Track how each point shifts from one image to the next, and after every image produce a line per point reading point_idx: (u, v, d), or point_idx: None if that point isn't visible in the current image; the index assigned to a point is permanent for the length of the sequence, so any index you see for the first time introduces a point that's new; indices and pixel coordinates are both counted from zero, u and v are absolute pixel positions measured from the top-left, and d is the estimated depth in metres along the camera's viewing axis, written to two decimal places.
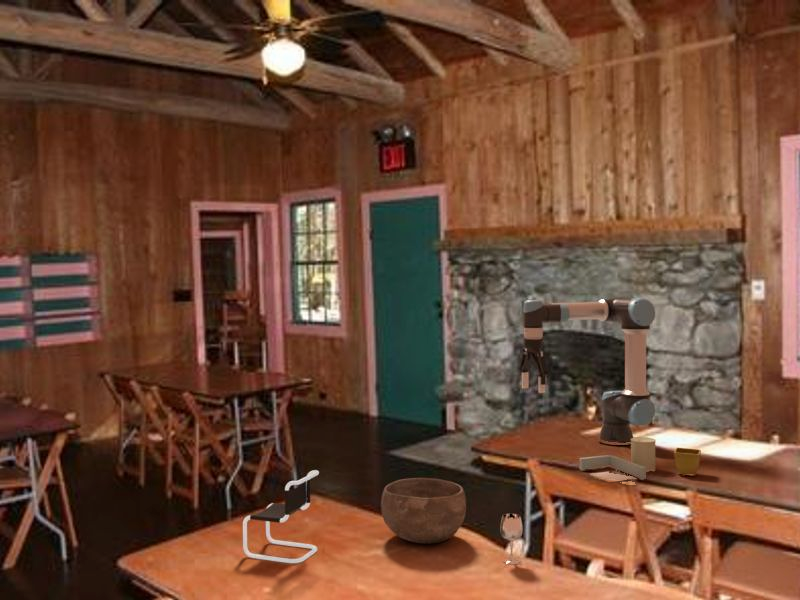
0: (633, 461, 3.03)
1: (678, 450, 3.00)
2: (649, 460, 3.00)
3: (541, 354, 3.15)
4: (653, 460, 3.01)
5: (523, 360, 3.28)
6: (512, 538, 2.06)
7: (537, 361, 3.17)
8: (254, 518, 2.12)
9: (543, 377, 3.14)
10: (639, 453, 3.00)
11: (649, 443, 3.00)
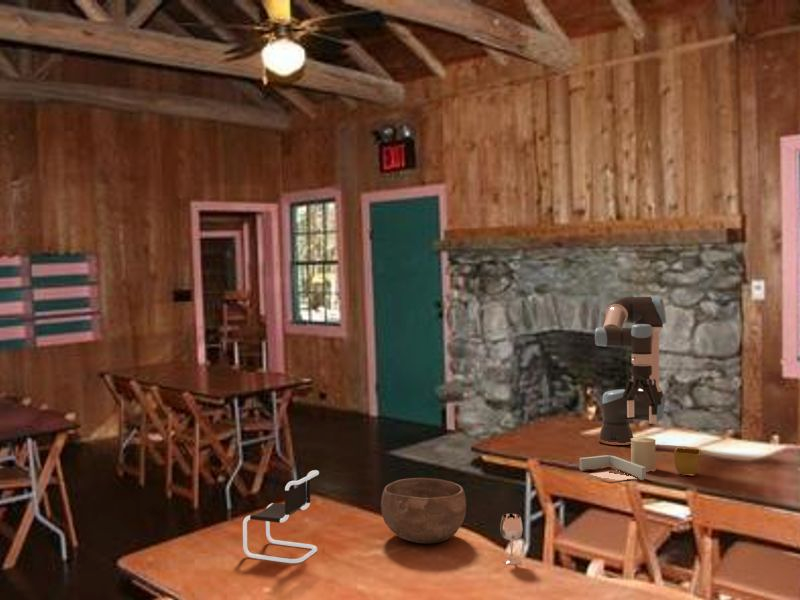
0: (633, 461, 3.03)
1: (678, 450, 3.00)
2: (649, 460, 3.00)
3: (652, 382, 2.97)
4: (653, 460, 3.01)
5: (629, 387, 3.10)
6: (512, 538, 2.06)
7: (647, 389, 2.99)
8: (254, 518, 2.12)
9: (655, 407, 2.96)
10: (639, 453, 3.00)
11: (649, 443, 3.00)
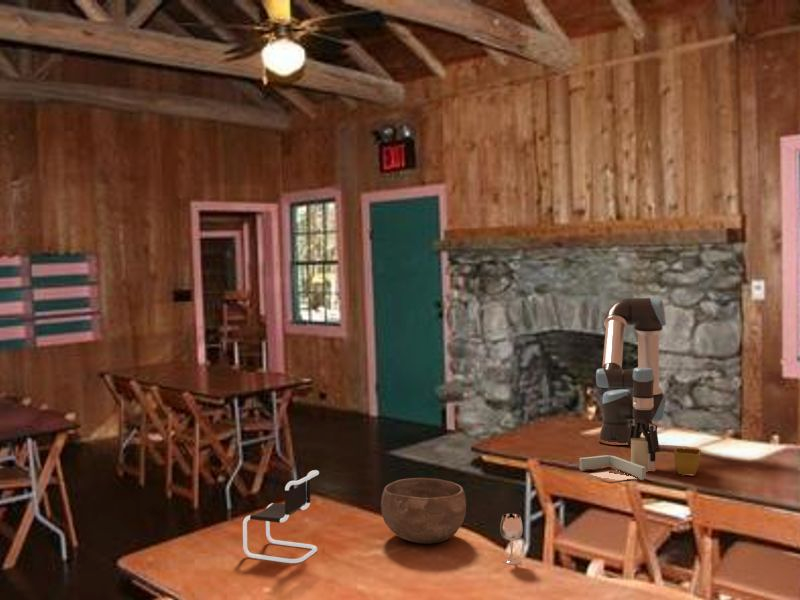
0: (633, 461, 3.03)
1: (678, 450, 3.00)
2: None
3: (653, 429, 2.98)
4: None
5: (632, 432, 3.09)
6: (512, 538, 2.06)
7: (647, 435, 3.01)
8: (254, 518, 2.12)
9: (653, 453, 2.98)
10: (639, 453, 3.00)
11: None
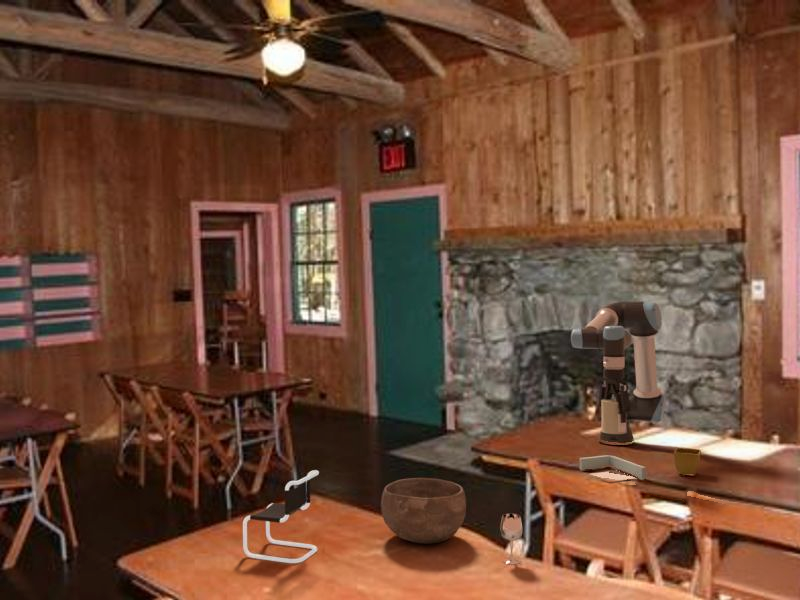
0: (603, 423, 2.91)
1: (678, 450, 3.00)
2: None
3: (624, 389, 2.85)
4: None
5: (602, 394, 2.97)
6: (512, 538, 2.06)
7: (618, 395, 2.88)
8: (254, 518, 2.12)
9: (623, 414, 2.86)
10: (610, 414, 2.88)
11: None
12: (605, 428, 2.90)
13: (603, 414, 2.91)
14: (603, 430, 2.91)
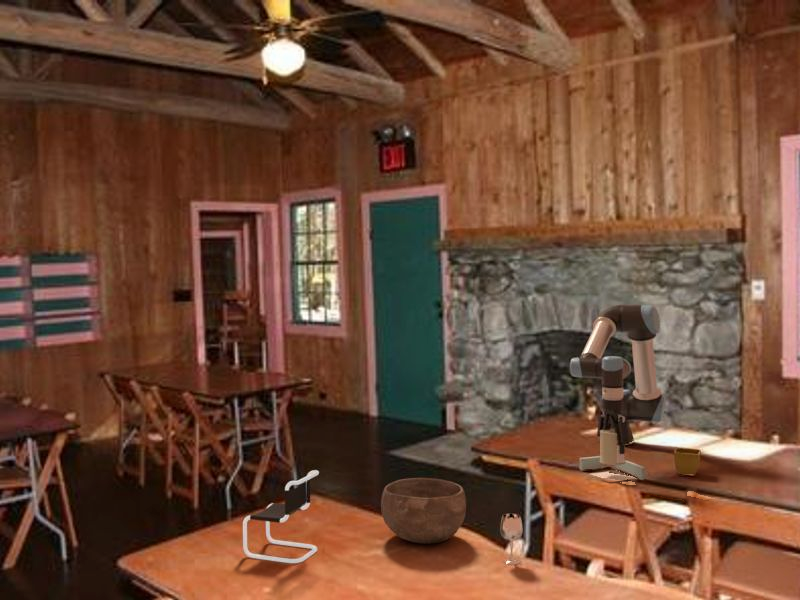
0: (602, 453, 2.91)
1: (678, 450, 3.00)
2: None
3: (623, 420, 2.85)
4: None
5: (601, 424, 2.97)
6: (512, 538, 2.06)
7: (617, 426, 2.88)
8: (254, 518, 2.12)
9: (622, 446, 2.86)
10: (608, 445, 2.88)
11: None
12: (604, 459, 2.90)
13: (602, 445, 2.91)
14: (602, 461, 2.91)
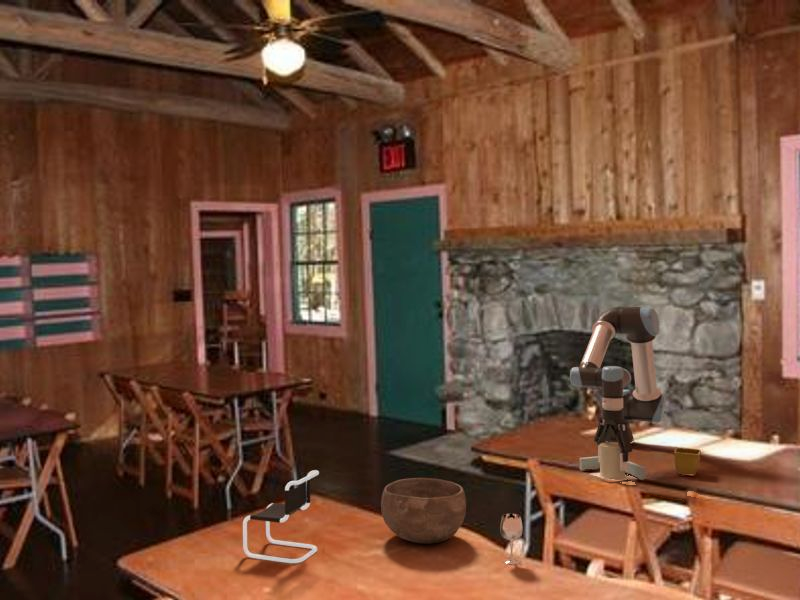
0: (602, 467, 2.91)
1: (678, 450, 3.00)
2: (618, 466, 2.88)
3: (623, 428, 2.85)
4: None
5: (600, 431, 2.98)
6: (512, 538, 2.06)
7: (618, 435, 2.88)
8: (254, 518, 2.12)
9: (626, 453, 2.84)
10: (608, 459, 2.89)
11: (618, 449, 2.88)
12: (604, 473, 2.90)
13: (602, 458, 2.91)
14: (602, 474, 2.91)
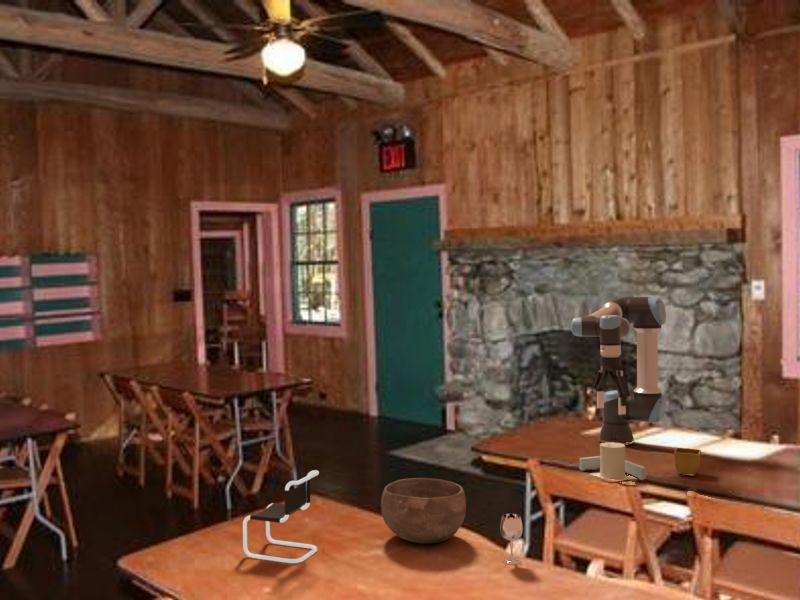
0: (602, 467, 2.91)
1: (678, 450, 3.00)
2: (618, 466, 2.88)
3: (621, 373, 2.96)
4: (623, 466, 2.89)
5: (598, 378, 3.09)
6: (512, 538, 2.06)
7: (616, 380, 2.99)
8: (254, 518, 2.12)
9: (624, 398, 2.95)
10: (608, 459, 2.89)
11: (618, 449, 2.88)
12: (604, 473, 2.90)
13: (602, 458, 2.91)
14: (602, 474, 2.91)
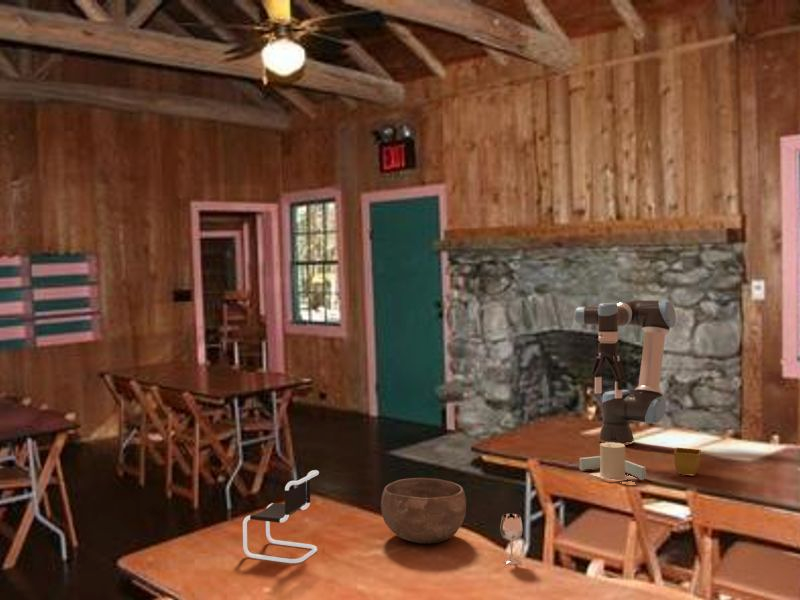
0: (602, 467, 2.91)
1: (678, 450, 3.00)
2: (618, 466, 2.88)
3: (618, 358, 3.08)
4: (623, 466, 2.89)
5: (596, 364, 3.21)
6: (512, 538, 2.06)
7: (613, 366, 3.10)
8: (254, 518, 2.12)
9: (620, 382, 3.06)
10: (608, 459, 2.89)
11: (618, 449, 2.88)
12: (604, 473, 2.90)
13: (602, 458, 2.91)
14: (602, 474, 2.91)
